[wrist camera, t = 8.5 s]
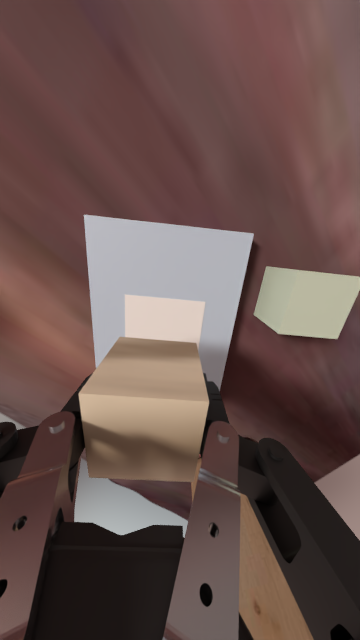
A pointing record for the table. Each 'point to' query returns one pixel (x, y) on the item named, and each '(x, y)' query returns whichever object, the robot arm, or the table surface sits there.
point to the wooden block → (263, 584)
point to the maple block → (145, 411)
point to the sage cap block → (306, 301)
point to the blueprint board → (165, 285)
